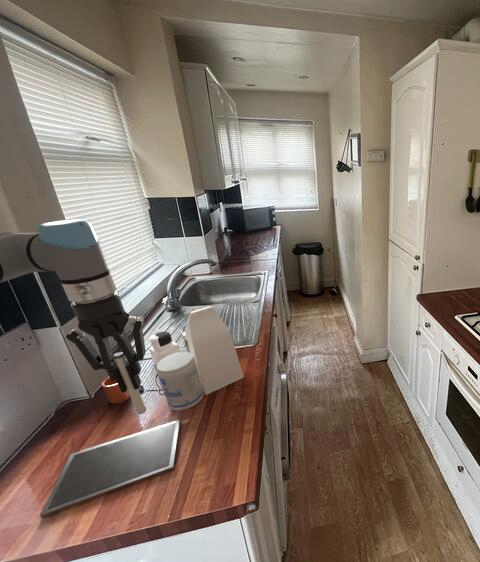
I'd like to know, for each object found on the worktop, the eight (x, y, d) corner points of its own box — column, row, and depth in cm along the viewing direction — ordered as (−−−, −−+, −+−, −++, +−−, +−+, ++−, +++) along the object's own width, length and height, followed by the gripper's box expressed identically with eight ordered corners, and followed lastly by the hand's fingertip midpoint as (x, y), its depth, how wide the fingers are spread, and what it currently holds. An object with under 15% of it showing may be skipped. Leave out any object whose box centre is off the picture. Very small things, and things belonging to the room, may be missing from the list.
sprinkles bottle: (196, 360, 114) (186, 328, 108) (208, 359, 113) (199, 328, 108) (189, 367, 109) (178, 335, 104) (201, 367, 109) (191, 335, 104)
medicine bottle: (175, 354, 117) (166, 327, 113) (183, 360, 113) (174, 333, 109) (154, 364, 112) (143, 336, 107) (162, 371, 108) (152, 342, 103)
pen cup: (107, 407, 93) (98, 389, 90) (113, 394, 98) (105, 376, 95) (132, 400, 95) (124, 382, 92) (136, 388, 100) (129, 370, 98)
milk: (205, 395, 96) (183, 323, 86) (196, 377, 104) (175, 309, 94) (244, 377, 104) (227, 309, 94) (232, 362, 112) (216, 297, 102)
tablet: (41, 518, 64) (39, 515, 64) (72, 456, 77) (70, 453, 77) (174, 470, 73) (173, 466, 73) (181, 422, 87) (180, 418, 86)
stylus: (136, 415, 74) (111, 357, 67) (138, 410, 75) (114, 353, 69) (145, 413, 75) (121, 355, 68) (147, 407, 76) (124, 351, 69)
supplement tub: (162, 412, 90) (146, 372, 84) (180, 390, 99) (167, 352, 93) (195, 411, 90) (182, 370, 85) (210, 388, 99) (199, 350, 93)
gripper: (37, 312, 57) (85, 408, 66) (133, 296, 63) (166, 387, 72) (55, 296, 63) (97, 387, 72) (141, 283, 69) (170, 368, 78)
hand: (131, 387), depth 72 cm, fingers closed on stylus, 2 cm apart
